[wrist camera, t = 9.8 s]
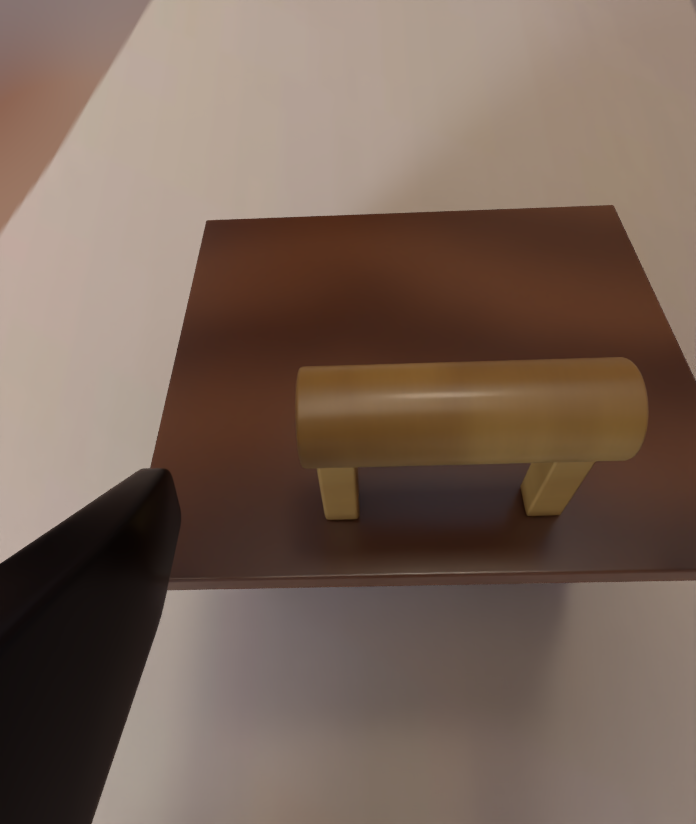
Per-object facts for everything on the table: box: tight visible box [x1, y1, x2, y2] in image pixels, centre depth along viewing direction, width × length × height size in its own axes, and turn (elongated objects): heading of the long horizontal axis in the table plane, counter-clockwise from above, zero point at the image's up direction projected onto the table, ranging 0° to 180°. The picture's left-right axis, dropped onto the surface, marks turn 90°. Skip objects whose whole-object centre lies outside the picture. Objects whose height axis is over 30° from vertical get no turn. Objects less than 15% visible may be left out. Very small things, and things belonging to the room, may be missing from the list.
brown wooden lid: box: [150, 205, 696, 590], centre depth 12 cm, size 11×12×5 cm
